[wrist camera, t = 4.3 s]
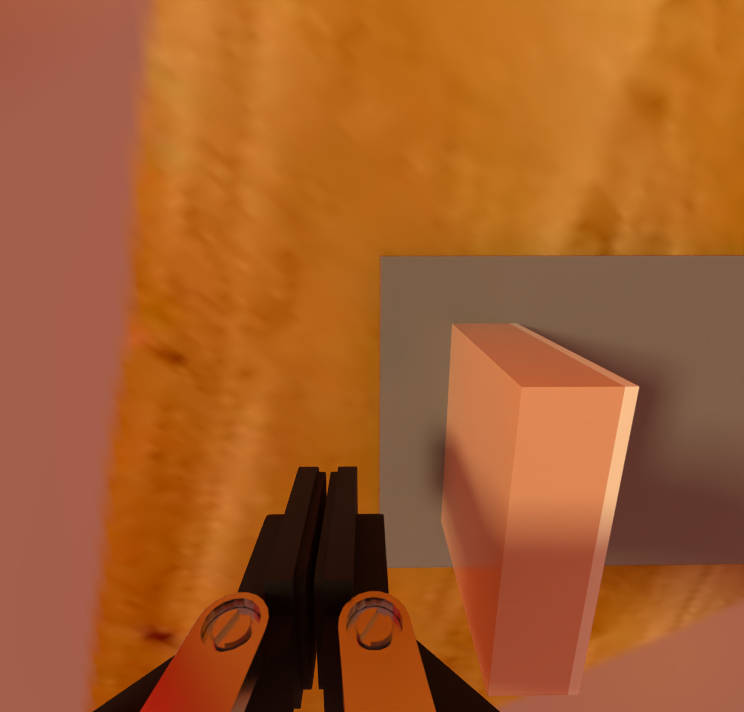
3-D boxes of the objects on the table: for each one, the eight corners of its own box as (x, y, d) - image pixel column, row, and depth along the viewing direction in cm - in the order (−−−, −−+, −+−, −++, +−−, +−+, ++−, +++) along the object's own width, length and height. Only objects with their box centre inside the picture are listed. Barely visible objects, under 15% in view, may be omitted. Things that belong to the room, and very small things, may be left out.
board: (834, 254, 15) (865, 255, 14) (743, 547, 19) (763, 563, 18) (379, 255, 15) (380, 256, 14) (378, 551, 19) (379, 567, 18)
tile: (516, 323, 15) (639, 386, 8) (496, 521, 17) (578, 694, 11) (452, 323, 15) (521, 387, 8) (441, 521, 17) (487, 695, 11)
